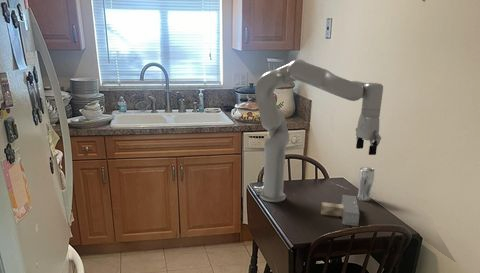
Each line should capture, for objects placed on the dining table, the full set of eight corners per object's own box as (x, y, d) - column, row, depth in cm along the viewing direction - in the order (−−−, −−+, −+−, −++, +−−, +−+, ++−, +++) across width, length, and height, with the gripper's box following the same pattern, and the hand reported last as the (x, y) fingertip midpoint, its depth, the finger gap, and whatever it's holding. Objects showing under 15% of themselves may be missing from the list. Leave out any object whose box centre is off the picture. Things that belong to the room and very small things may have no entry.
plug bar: (320, 214, 162) (321, 205, 162) (321, 210, 166) (321, 202, 165) (351, 218, 160) (352, 209, 159) (351, 214, 164) (352, 205, 163)
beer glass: (355, 200, 179) (359, 170, 176) (356, 194, 185) (360, 166, 182) (370, 202, 177) (374, 172, 173) (371, 197, 183) (375, 168, 179)
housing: (342, 224, 153) (344, 211, 152) (341, 206, 171) (342, 194, 170) (357, 226, 152) (359, 213, 151) (354, 207, 170) (356, 196, 169)
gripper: (351, 109, 164) (347, 146, 168) (374, 116, 148) (369, 157, 152) (366, 109, 166) (362, 146, 170) (391, 116, 150) (385, 157, 154)
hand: (365, 151), depth 161 cm, fingers open, 9 cm apart
